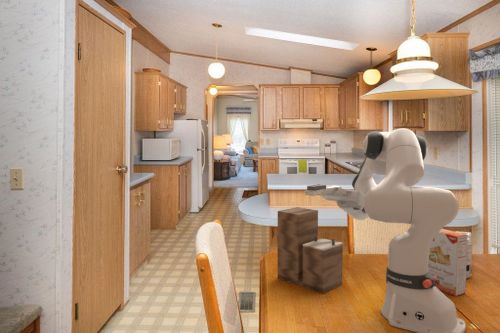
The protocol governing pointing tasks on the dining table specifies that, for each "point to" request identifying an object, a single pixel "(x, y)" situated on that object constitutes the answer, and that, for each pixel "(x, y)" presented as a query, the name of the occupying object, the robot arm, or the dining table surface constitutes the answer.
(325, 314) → the dining table surface
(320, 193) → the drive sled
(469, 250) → the supplement can
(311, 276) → the stepped wooden blocks
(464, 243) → the cracker box
